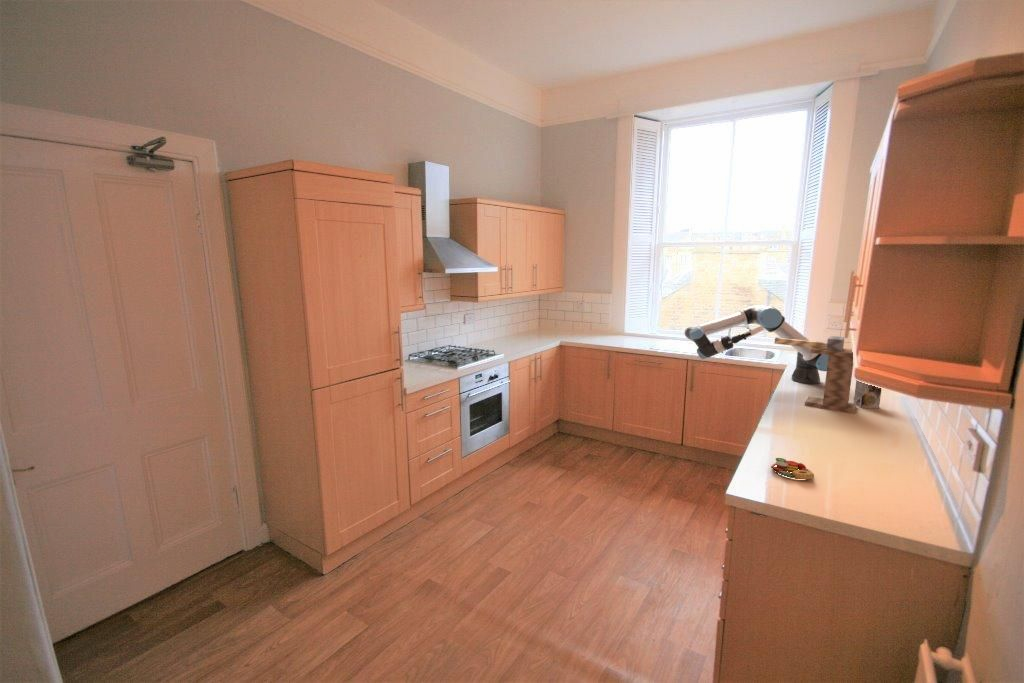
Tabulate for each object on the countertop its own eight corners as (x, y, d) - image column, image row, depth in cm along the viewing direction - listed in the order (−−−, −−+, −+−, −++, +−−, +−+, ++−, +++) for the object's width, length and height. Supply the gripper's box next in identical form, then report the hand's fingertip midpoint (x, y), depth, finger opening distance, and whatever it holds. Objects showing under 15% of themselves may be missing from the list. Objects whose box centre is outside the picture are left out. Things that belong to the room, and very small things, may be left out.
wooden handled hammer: (772, 344, 247) (774, 333, 246) (777, 341, 255) (778, 331, 254) (840, 351, 228) (842, 339, 227) (843, 348, 235) (844, 337, 234)
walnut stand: (804, 405, 241) (811, 349, 235) (808, 399, 250) (814, 345, 244) (854, 413, 227) (862, 354, 222) (856, 407, 236) (864, 350, 231)
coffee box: (871, 404, 241) (875, 374, 238) (879, 408, 235) (883, 377, 232) (852, 403, 242) (856, 374, 239) (860, 407, 236) (864, 377, 233)
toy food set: (814, 486, 157) (815, 477, 157) (770, 477, 163) (771, 469, 163) (811, 470, 169) (812, 461, 168) (770, 462, 175) (770, 454, 174)
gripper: (733, 346, 277) (768, 332, 263) (720, 353, 258) (757, 338, 245) (727, 335, 278) (762, 320, 264) (714, 341, 260) (751, 325, 246)
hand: (760, 329), depth 255 cm, fingers open, 13 cm apart
